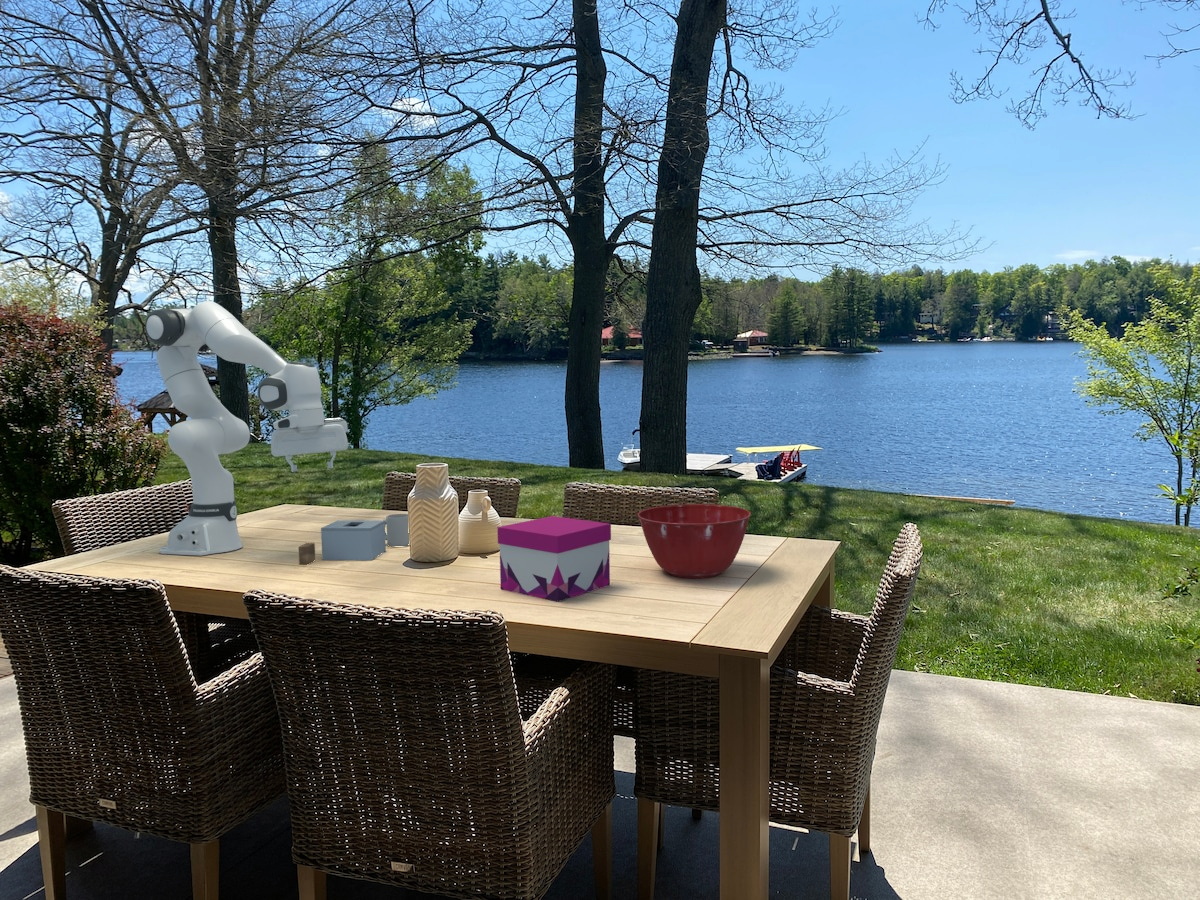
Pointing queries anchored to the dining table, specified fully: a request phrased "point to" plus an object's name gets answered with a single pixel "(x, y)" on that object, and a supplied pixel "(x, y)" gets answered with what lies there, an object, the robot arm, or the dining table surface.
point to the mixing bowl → (694, 537)
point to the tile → (306, 553)
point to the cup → (397, 530)
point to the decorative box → (554, 557)
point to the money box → (353, 540)
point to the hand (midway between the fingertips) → (312, 469)
